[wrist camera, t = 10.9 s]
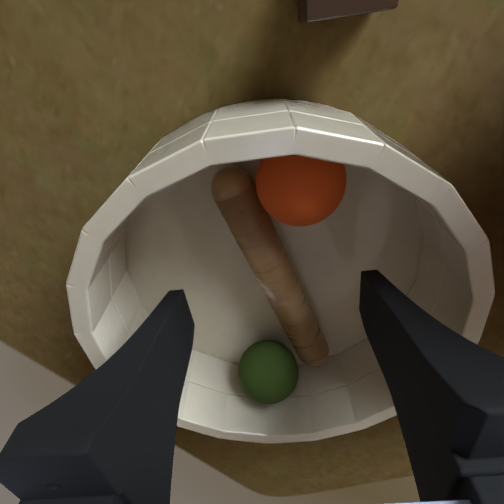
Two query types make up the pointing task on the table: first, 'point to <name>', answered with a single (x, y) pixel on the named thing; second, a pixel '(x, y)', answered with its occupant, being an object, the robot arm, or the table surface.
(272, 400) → the green ball
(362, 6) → the stick rest
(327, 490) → the table surface
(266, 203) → the orange ball
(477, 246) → the cream shallow round container
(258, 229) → the stick
